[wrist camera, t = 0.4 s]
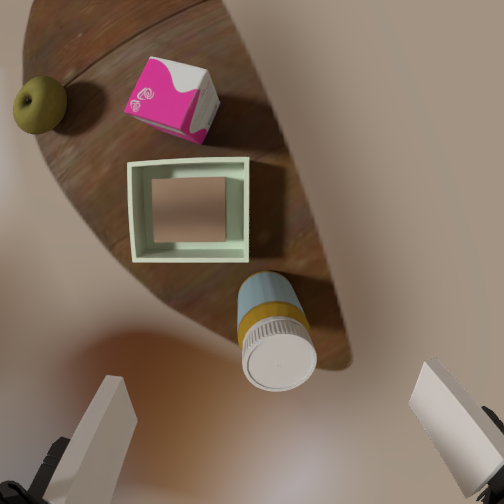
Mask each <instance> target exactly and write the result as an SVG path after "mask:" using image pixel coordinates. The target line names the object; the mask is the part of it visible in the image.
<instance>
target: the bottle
mask: <svg viewBox="0 0 504 504" xmlns="http://www.w3.org/2000/svg"><path fill="white" fill-rule="evenodd" d="M238 342H239V346H240V348H241V350H242V363H243V370H244V373H245V375H246V377H247V379H248V380H249V381H250V382H251V383H252V384H253V385H255V386H257V387H258V388H260V389H263V390H267V391H286V390H289V389H292V388H295V387H297V386H299V385H301V384H302V383H303V382H305V381H306V380H307V379H308V378H309V377H310V376H311V374H312V373H313V371H314V369H315V366H316V360H317V358H316V356H317V355H316V351H315V348H314V345H313V343H312V341H311V338H310V326H309V323H308V320H307V318H306V316H305V314H304V311H303V309H302V307H301V305H300V303H299V301H298V298H297V296H296V294H295V292H294V290H293V288H292V286H291V284H290V282H289V281H288V280H287V279H286V278H285V277H284V276H283V275H281V274H279V273H277V272H273V271H262V272H257V273H255V274H253V275H251V276H249V277H248V278H247V279H246V280H245V281H244V282H243V284H242V286H241V287H240V290H239V295H238Z"/></svg>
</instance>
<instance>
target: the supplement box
mask: <svg viewBox="0 0 504 504" xmlns="http://www.w3.org/2000/svg"><path fill="white" fill-rule="evenodd" d="M220 104H221V103H220V101H219V99H218V96H217V93H216V91H215V88H214V85H213V83H212V80H211V77H210V75H209V72H208V70H207V69H203V68H199V67H196V66H192V65H187V64H183V63H179V62H175V61H170V60H165V59H161V58H156V57H152V56H151V57H150V58H149V60H148V62H147V64H146V66H145V68H144V70H143V72H142V74H141V76H140V78H139V80H138V82H137V84H136V86H135V89H134V91H133V93H132V95H131V97H130V100H129V102H128V104H127V106H126V109H125V111H124V112H125V113H127V114H129V115H131V116H133V117H135V118H137V119H139V120H140V121H142V122H144V123H146V124H148V125H150V126H152V127H154V128H156V129H158V130H160V131H162V132H165V133H168V134H171V135H174V136H176V137H179V138H182V139H185V140H188V141H191V142H194V143H197V144H200V145H202V144H203V142H204V140H205V138H206V136H207V134H208V131H209V129H210V127H211V124H212V122H213V120H214V118H215V115H216V113H217V111H218V108H219V106H220Z"/></svg>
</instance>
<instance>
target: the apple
mask: <svg viewBox="0 0 504 504" xmlns="http://www.w3.org/2000/svg"><path fill="white" fill-rule="evenodd" d="M66 108H67V96H66V92H65V89H64V88H63V86H62V85H61V84H60V83H59V82H58V81H57V80H55V79H53V78H51V77H48V76H38V77H35V78H33V79H31V80H30V81H28V82H27V83H26V84H25V85H24V86H23V87H22V89H21V90H20V91H19V93H18V94H17V96H16V99H15V101H14V106H13V115H14V119H15V122H16V123H17V125H18V126H19V127H20V128H21V129H22V130H23V131H25V132H27V133H30V134H43V133H46V132H48V131H50V130H52V129H53V128H55V127H56V126H57V125H58V124H59V123H60V121H61V120H62V119H63V117H64V115H65V112H66Z"/></svg>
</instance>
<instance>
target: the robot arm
mask: <svg viewBox="0 0 504 504" xmlns="http://www.w3.org/2000/svg"><path fill="white" fill-rule="evenodd" d="M408 404H409V406H410V407H411V409H412V410H413V412H414V414H415V415H416V417H417V418H418V420H419V421H420V423H421V425H422V426H423V428H424V429H425V431H426V432H427V434H428V435H429V437H430V439H431V440H432V442H433V444H434V445H435V447H436V449H437V450H438V452H439V453H440V455H441V457H442V458H443V460H444V462H445V463H446V465H447V467H448V468H449V470H450V472H451V473H452V475H453V477H454V479H455V480H456V482H457V484H458V486H459V487H460V489H461V491H462V493H463V494H464V496H465V498H466V499H467V498H468V497H470V496H472V495H473V494H475V493H477V492H478V491H480V490H481V488H483V487H484V486H485V484H488V485H489V486H488V488H486V489H485V490H484V491H483V492H482V493H481V494H480V495H479V496H478V498H477V500H476V501H479V500H480V499H481V498H482V497H483V496H484V495H485V497H484V498H483V499H482V500H481V502H483V504H504V425H503V423H502V421H501V420H499V418H498V417H497V416H496V414H495V413H494V412H493V411H492V410H490V409H488V408H487V407H485V406H483V407H480V406H479V405H478V404H477V402H476V401H475V400H474V399H473V398H472V397H471V395H470V394H469V393H468V392H467V391H466V390H465V389H464V388H463V387H462V385H461V384H460V383H459V382H458V381H457V380H456V379H455V378H454V376H453V375H452V374H451V373H450V372H449V371H448V370H447V369H446V368H445V367H444V366H443V365H442V363H441V362H440V361H439V360H438V359H437V358H435V359H431V360H427V361H424V364H423V366H422V369H421V372H420V375H419V378H418V381H417V383H416V386H415V388H414V391H413V393H412V396H411V398H410V401H409V403H408ZM136 424H137V418H136V415H135V412H134V410H133V407H132V404H131V401H130V398H129V395H128V393H127V389H126V387H125V383H124V380H123V377H118V376H110V375H107V376H106V377H105V379H104V381H103V383H102V384H101V386H100V388H99V389H98V391H97V393H96V395H95V396H94V398H93V400H92V402H91V403H90V405H89V407H88V409H87V411H86V412H85V414H84V416H83V418H82V420H81V422H80V423H79V426H78V427H77V429H76V431H75V433H74V435H73V437H72V439H67V438H64V437H60V438H59V439H58V440H57V441H56V442H54V443H53V444H52V446H51V448H50V450H49V451H48V453H47V456H46V457H45V459H44V461H43V464H41V466H40V468H39V470H38V472H37V474H36V476H35V478H34V480H33V482H32V484H31V486H30V488H29V489H28V491H26V490H25V489H24V488H23V487H22V486H21V485H20V484H19V483H16V482H15V481H5V482H2V483H1V484H0V504H110V502H111V499H112V495H113V492H114V489H115V486H116V482H117V479H118V476H119V473H120V470H121V467H122V464H123V461H124V458H125V455H126V452H127V449H128V446H129V443H130V441H131V438H132V435H133V432H134V429H135V426H136Z"/></svg>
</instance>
